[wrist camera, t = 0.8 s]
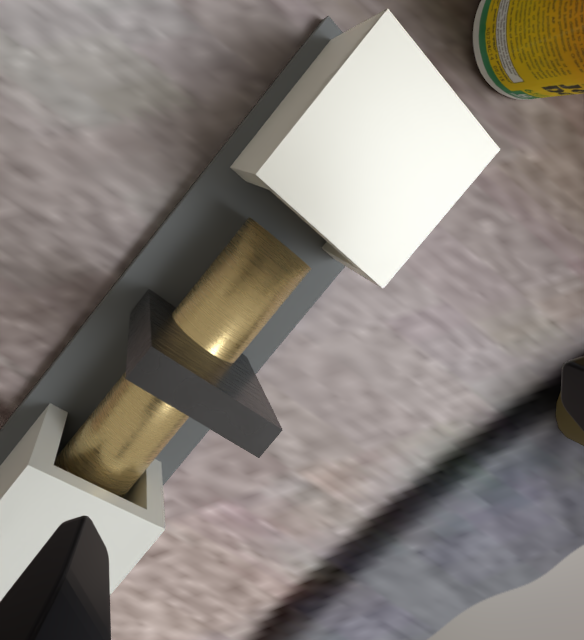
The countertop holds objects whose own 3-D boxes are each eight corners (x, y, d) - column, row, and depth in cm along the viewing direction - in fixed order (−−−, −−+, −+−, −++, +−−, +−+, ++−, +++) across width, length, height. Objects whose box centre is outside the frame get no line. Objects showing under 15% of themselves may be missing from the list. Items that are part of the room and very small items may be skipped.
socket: (334, 259, 22) (383, 288, 17) (229, 167, 19) (255, 174, 15) (426, 148, 21) (500, 149, 17) (330, 39, 19) (387, 8, 14)
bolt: (72, 566, 23) (50, 704, 17) (-38, 523, 21) (-104, 663, 15) (315, 273, 21) (375, 319, 16) (222, 195, 19) (255, 216, 14)
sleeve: (62, 580, 23) (47, 670, 19) (-56, 536, 21) (-101, 626, 17) (161, 462, 22) (165, 529, 19) (49, 402, 20) (28, 465, 16)
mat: (75, 583, 24) (73, 593, 23) (-76, 525, 21) (-81, 535, 21) (435, 148, 22) (442, 148, 21) (322, 19, 19) (328, 15, 18)
